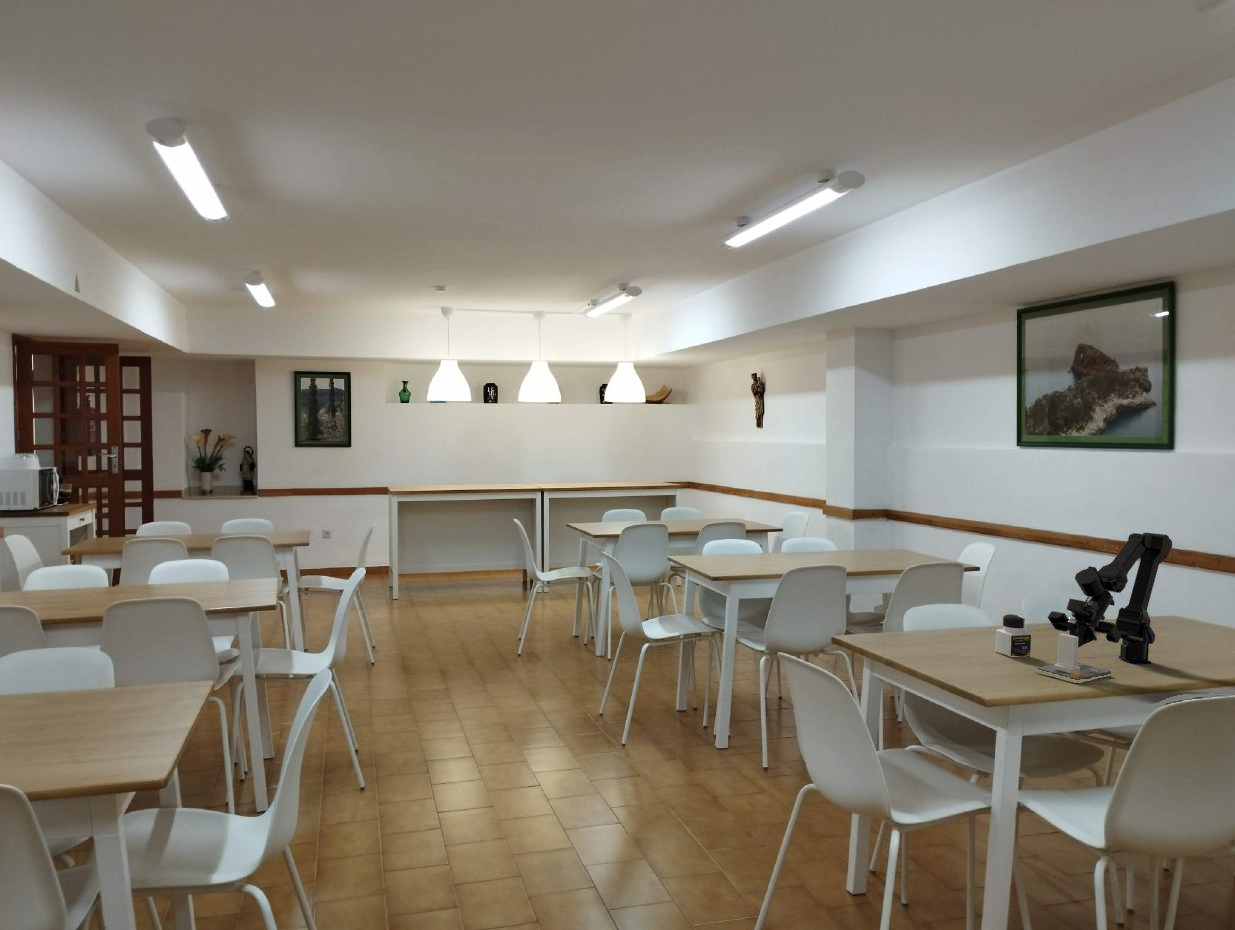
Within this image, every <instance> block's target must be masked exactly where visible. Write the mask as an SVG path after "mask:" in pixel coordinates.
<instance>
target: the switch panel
mask: <svg viewBox="0 0 1235 930" xmlns="http://www.w3.org/2000/svg"><path fill="white" fill-rule="evenodd" d="M1055 664H1056V663H1053V664H1048V665H1045V666H1040V667H1035V669H1039V670H1042V671H1046V672H1051V673H1053V674H1058V675H1060V676H1065V677H1069V678H1071V679H1075V680H1080V679H1090V678H1092V677H1098V676H1104V675H1108V674H1111V675H1112V670H1108V669H1105V668H1101V667H1097V666H1092V665H1089V664H1084V663H1081V662H1077V667H1080V672H1072V673H1067V672H1063V671H1060V670H1056V669H1054V665H1055Z"/></svg>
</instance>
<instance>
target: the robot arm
mask: <svg viewBox="0 0 1235 930" xmlns="http://www.w3.org/2000/svg"><path fill="white" fill-rule="evenodd" d="M1172 547H1173V540H1172V539H1171V538H1170V537H1169V536H1168V535H1167V534H1164V533H1153V532H1143V533H1135V532H1134V533H1130V534H1129V535H1128V538H1127V540H1126V542H1125V544H1124V545H1123V547H1122V548H1121V549H1120V551H1119V552H1118V553H1117V554H1116V556H1115V557H1114V559H1113V560H1112V561H1111V562H1110V563H1109V564H1106V565H1103V566H1102V567H1101V568H1100V569H1099V570H1098V569H1097V567H1096V566H1090V565H1088V567H1087V568H1086V569H1082V570H1080V571H1078V572H1076V574H1075V576H1074V580H1075V582H1076V583H1077V585H1078V587H1079V589H1080V590H1081V592H1082V594H1083V595H1085V596H1087V598H1086V599H1085V600H1082V599H1080V600H1079V599H1075V598H1069V600H1068V602H1067V605H1066V606H1067V607H1066V610H1067V611H1070V612H1071V617H1069V618H1068V616H1067V614H1066V613H1065V612H1061V611H1060V612H1059V611H1054V610H1052V611H1050V612H1049V614H1048V616H1047V619H1048V620H1049V622H1050V623H1051V626H1052V627H1053V628H1054V629H1055V630H1057V631H1061V632H1063V633H1064V632H1068V633H1069V635H1072V636H1077V637H1078V649H1079V648H1080V647H1082V646H1084V645H1086V644H1088V643H1090V642H1094V641H1098V638H1097V636H1098V635H1100V634H1104V635H1105V639H1106V640H1107V642H1109V643H1115V644H1118V643H1119V642H1120V640H1122V641H1121V644H1120V650H1119V651H1120V654H1119V655H1118V659H1121V660H1123V661H1125V660H1126V661H1125V662H1127V661H1128V663H1129V662H1131V663H1130V664H1142V663H1141V662H1148V663H1147V664H1152V663H1151V662H1152V661H1151V660H1149V652H1150V650H1149V648H1150V645H1153V644H1154V643H1155V640H1156V634H1155V632H1154V630H1153V629H1152V627H1151V622H1152V621H1151V620H1152V619H1151V618H1150V615H1149V612H1148V607H1149V604H1150V600H1151V596H1152V592H1153V589H1154V584H1155V581H1156V576H1157V573H1158V569H1159V566H1160V564H1162V562H1164V561H1165V560H1166V559H1168V556H1169V554H1170V551H1171V550H1172ZM1139 559H1140V561H1139V564H1138V569H1137V572H1136V575H1135V579H1134V583H1133V587H1132V590H1131V594H1130V598H1129V602H1128V603H1127V604H1128V605H1127V606H1125V607H1120V608H1119V609H1118V614H1117V617H1116V619H1115V623H1113V622H1110V621H1105V620H1106V616H1105V613H1106V612H1107V610H1108V608H1109V606H1115V600H1114V596H1113V595H1112V594H1111V593H1117V594H1119V593H1121V592H1123V591H1124V589H1125V588H1126V586H1127V584H1128V582H1129V579H1128V574H1129V572H1130V571H1131V569H1132V568H1133V567H1134V565H1135V563H1136V562H1137V561H1138V560H1139ZM1149 662H1150V663H1149Z"/></svg>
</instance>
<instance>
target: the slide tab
mask: <svg viewBox="0 0 1235 930" xmlns="http://www.w3.org/2000/svg"><path fill="white" fill-rule="evenodd" d="M1056 644H1057V647H1056V650H1057V651H1056V663H1054V664H1055V665H1054V669H1056V670H1060V671H1063V672H1067V673H1072V672H1080V667H1077V663H1078V659H1079V657H1078V655H1079V654H1078V653H1079V648H1078V637H1077V636H1072V635H1070V634H1067V633H1064V632H1062V633H1057V643H1056Z"/></svg>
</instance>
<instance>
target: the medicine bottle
mask: <svg viewBox="0 0 1235 930" xmlns="http://www.w3.org/2000/svg"><path fill="white" fill-rule="evenodd" d="M1025 624H1026V619H1025V617H1024V616H1022V615H1019V614H1014V613H1013V614H1005V615H1003V616H1002V628H999V629H996V631H995V646H994V647H995V650H994V651H998V652H1000V653H1003V654H1007V655H1008V656H1030V657H1031V647H1032V646H1031V645H1032V644H1031V643H1032V642H1031V641H1032V634H1031V633H1029V632H1027V631H1025Z"/></svg>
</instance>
